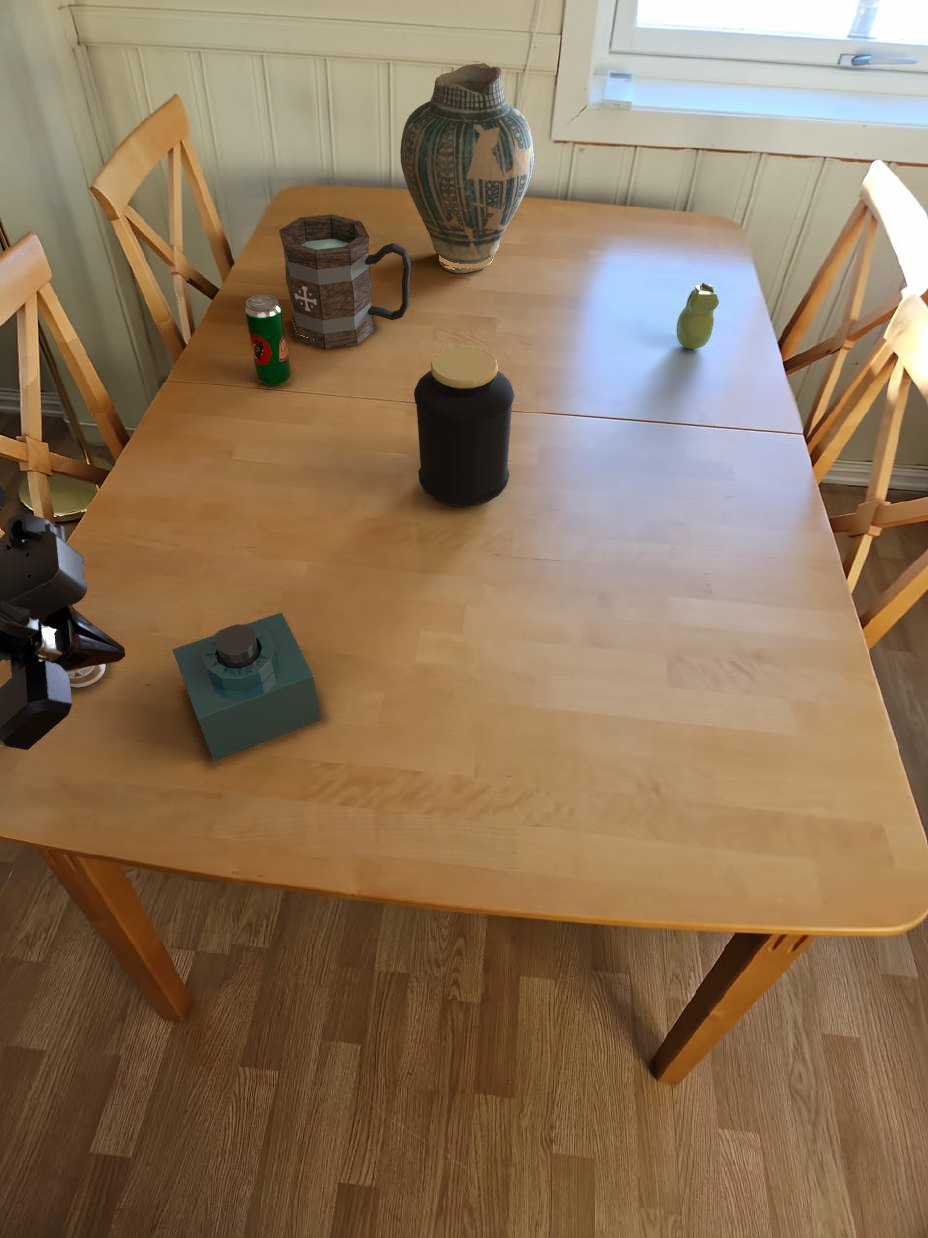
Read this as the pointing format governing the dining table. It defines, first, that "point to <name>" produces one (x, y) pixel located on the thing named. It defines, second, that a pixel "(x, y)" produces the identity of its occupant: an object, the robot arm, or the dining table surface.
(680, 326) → the pear
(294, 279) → the mug
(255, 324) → the soda can
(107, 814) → the dining table surface
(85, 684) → the pill bottle
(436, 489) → the container
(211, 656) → the teal push button box
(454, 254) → the vase
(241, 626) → the dark brown button
